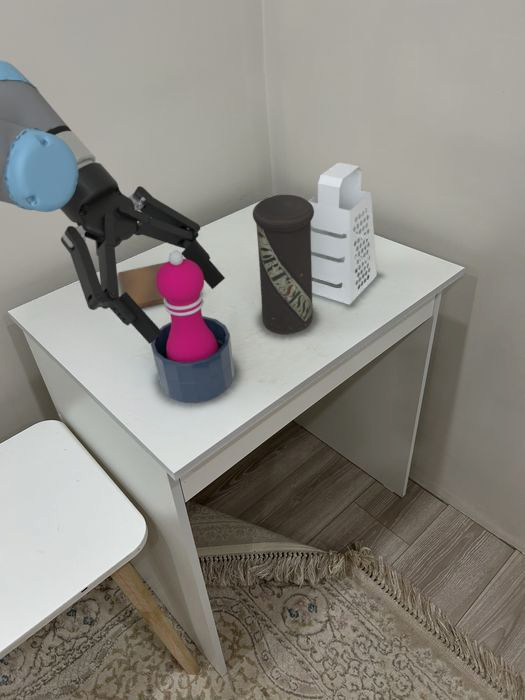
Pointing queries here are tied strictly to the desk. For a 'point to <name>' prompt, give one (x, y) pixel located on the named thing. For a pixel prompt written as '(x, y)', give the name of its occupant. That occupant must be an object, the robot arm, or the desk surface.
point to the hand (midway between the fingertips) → (189, 309)
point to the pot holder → (142, 285)
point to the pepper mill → (185, 310)
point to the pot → (195, 368)
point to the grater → (342, 234)
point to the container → (285, 262)
